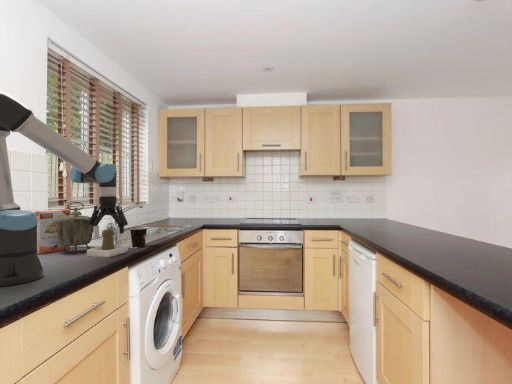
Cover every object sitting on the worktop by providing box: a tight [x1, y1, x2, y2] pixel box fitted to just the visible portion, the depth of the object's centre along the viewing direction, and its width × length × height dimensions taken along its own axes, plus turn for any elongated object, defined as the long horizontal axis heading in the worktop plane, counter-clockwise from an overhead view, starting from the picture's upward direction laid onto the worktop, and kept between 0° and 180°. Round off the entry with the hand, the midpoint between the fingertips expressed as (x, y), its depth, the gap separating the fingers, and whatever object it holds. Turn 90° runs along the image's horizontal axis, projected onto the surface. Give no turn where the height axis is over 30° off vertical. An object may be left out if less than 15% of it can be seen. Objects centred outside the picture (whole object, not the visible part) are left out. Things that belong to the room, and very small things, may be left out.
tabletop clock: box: [57, 201, 93, 254], centre depth 139 cm, size 14×9×25 cm, turn 118°
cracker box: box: [34, 209, 72, 255], centre depth 141 cm, size 14×6×21 cm, turn 150°
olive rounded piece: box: [101, 228, 115, 250], centre depth 134 cm, size 6×6×11 cm
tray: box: [86, 244, 129, 258], centre depth 134 cm, size 13×12×3 cm
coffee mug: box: [129, 226, 148, 249], centre depth 150 cm, size 12×9×10 cm
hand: (108, 239), depth 134 cm, fingers open, 13 cm apart
